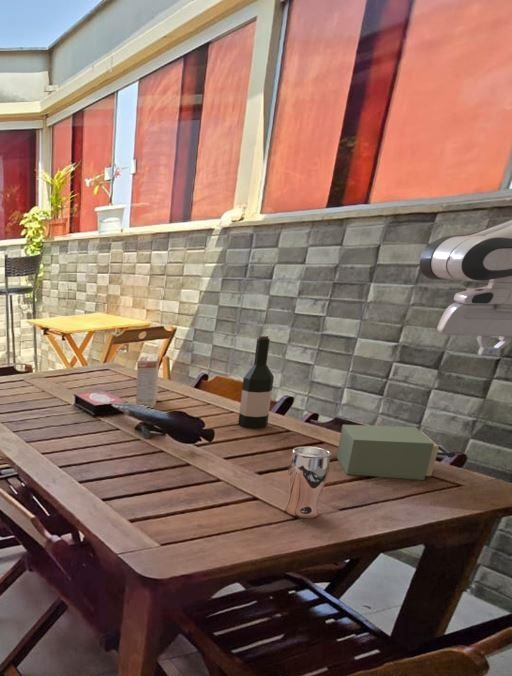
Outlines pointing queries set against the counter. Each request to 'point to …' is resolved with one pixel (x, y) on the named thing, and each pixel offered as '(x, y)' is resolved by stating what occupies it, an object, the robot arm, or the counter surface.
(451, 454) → the drawer
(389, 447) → the cabinet
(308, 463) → the beer glass
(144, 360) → the coffeecake box
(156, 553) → the counter surface
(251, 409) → the wine bottle
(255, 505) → the counter surface
